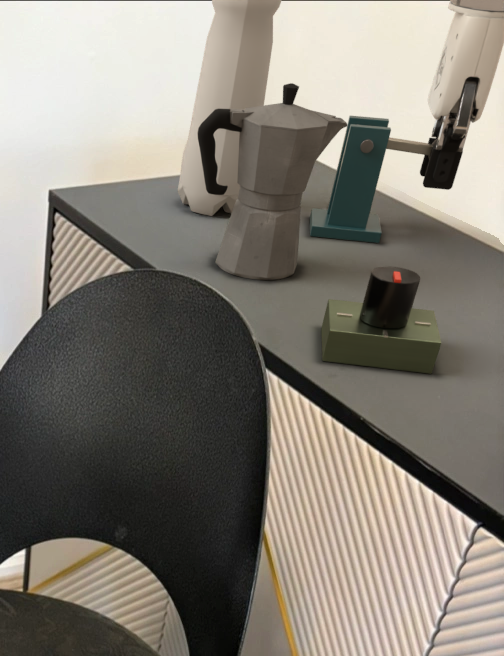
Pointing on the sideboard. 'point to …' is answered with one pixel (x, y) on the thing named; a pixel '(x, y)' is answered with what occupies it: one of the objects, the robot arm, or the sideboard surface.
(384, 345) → the panel
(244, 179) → the coffeepot
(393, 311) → the knob
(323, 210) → the teal lever mount
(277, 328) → the sideboard surface
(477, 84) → the robot arm
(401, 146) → the ball knob lever
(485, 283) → the sideboard surface
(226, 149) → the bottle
